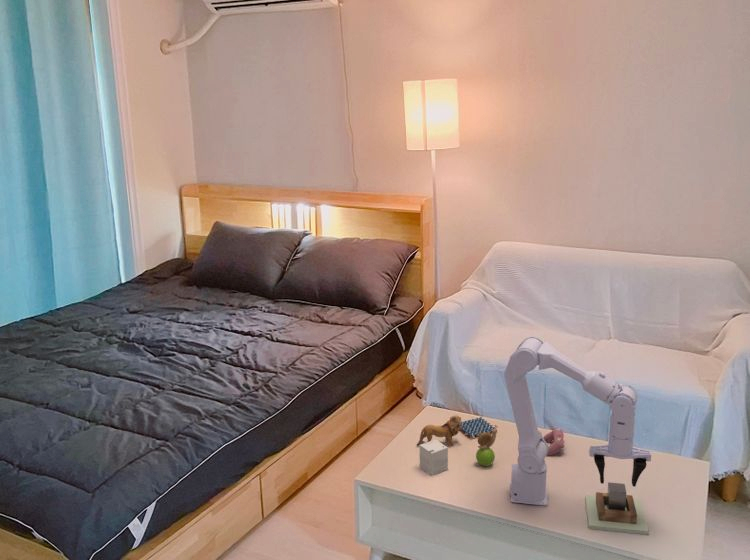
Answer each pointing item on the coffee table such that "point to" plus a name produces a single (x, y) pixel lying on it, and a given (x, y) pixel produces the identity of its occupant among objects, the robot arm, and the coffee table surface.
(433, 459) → the skincare box
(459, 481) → the coffee table surface
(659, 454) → the coffee table surface
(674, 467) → the coffee table surface
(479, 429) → the woven mat
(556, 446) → the video game controller
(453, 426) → the lion figurine
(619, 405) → the robot arm
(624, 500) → the grey brown rectangular block
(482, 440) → the animal on green ball
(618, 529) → the socket block
